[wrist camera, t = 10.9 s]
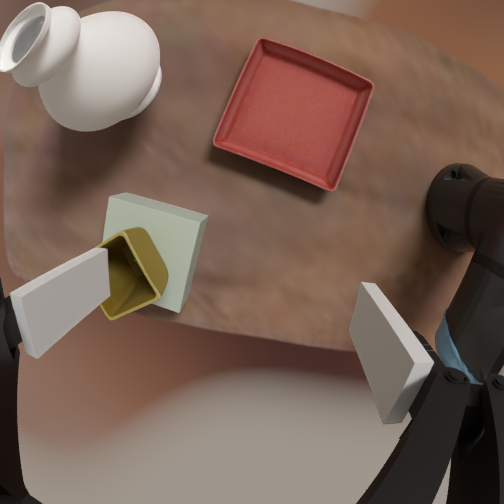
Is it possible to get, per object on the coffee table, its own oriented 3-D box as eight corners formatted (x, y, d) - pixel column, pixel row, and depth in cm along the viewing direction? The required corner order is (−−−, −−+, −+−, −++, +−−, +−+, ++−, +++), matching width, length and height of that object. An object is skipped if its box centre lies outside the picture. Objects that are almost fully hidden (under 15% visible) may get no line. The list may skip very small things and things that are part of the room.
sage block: (209, 215, 43) (200, 222, 37) (189, 295, 47) (179, 313, 41) (127, 192, 42) (109, 196, 36) (115, 270, 46) (98, 283, 40)
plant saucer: (258, 43, 35) (258, 34, 32) (369, 88, 36) (376, 83, 33) (214, 146, 40) (210, 145, 37) (329, 192, 41) (334, 194, 38)
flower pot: (183, 271, 39) (162, 299, 30) (136, 293, 41) (109, 322, 32) (153, 215, 37) (122, 228, 28) (108, 242, 38) (73, 261, 30)
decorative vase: (186, 115, 38) (95, 64, 14) (89, 150, 40) (-30, 154, 16) (170, 23, 33) (100, -63, 9) (80, 62, 35) (-19, 25, 11)
